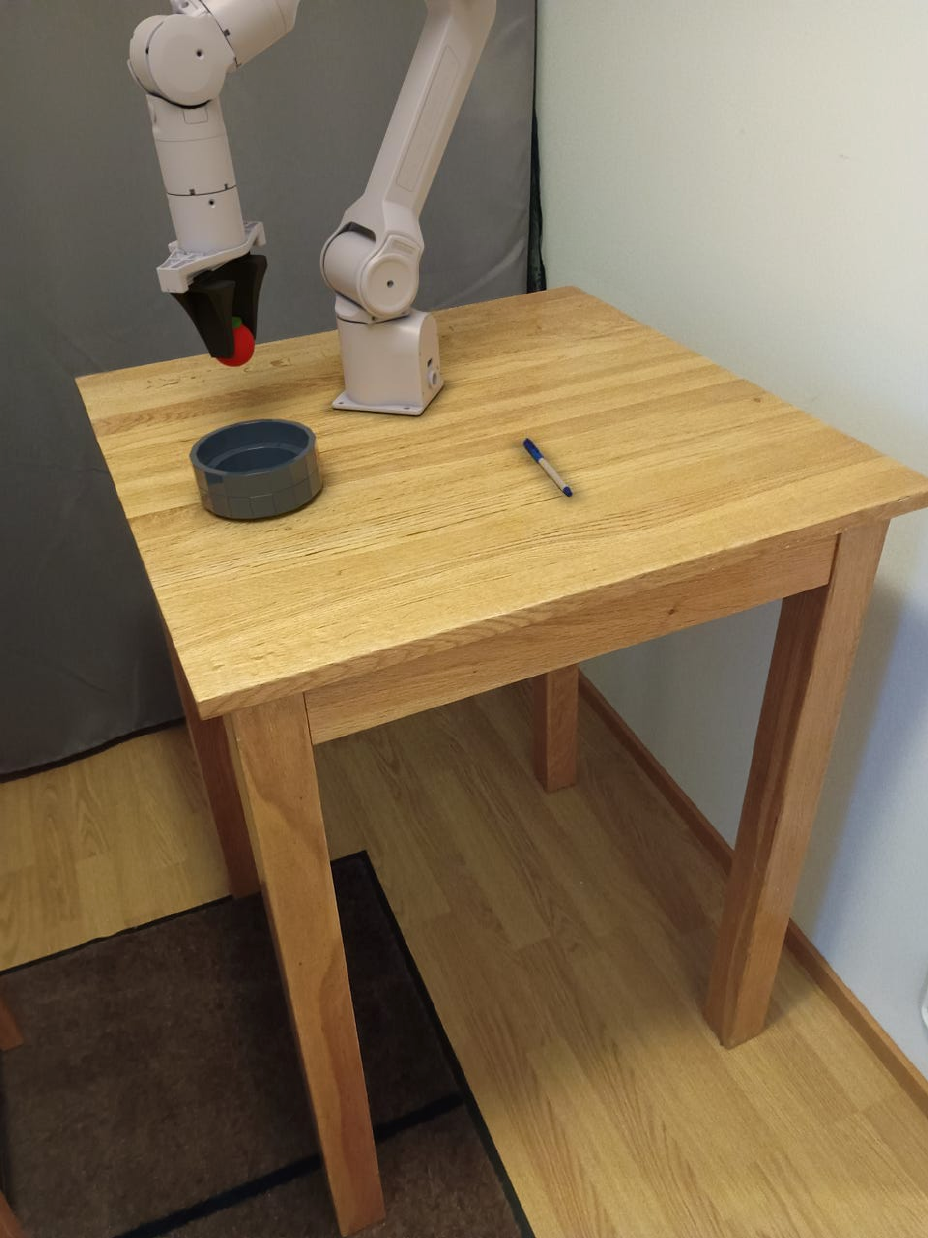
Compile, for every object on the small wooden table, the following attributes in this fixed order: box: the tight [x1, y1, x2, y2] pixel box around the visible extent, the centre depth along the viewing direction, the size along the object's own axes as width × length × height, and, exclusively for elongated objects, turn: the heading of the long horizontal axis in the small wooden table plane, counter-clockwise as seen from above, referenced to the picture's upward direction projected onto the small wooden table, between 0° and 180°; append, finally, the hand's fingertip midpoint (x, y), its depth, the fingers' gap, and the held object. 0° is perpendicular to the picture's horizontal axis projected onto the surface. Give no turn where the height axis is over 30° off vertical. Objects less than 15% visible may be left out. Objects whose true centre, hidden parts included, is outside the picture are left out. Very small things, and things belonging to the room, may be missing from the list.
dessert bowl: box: [188, 418, 324, 520], centre depth 79 cm, size 10×10×4 cm
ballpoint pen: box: [522, 437, 573, 497], centre depth 80 cm, size 10×1×1 cm, turn 19°
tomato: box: [215, 317, 256, 368], centre depth 84 cm, size 4×4×4 cm
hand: (234, 348), depth 85 cm, fingers closed on tomato, 3 cm apart
